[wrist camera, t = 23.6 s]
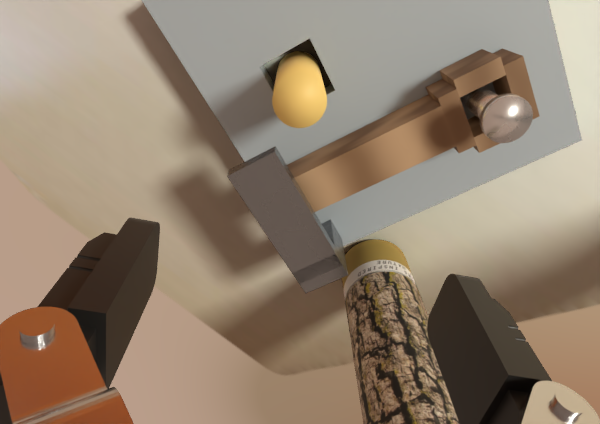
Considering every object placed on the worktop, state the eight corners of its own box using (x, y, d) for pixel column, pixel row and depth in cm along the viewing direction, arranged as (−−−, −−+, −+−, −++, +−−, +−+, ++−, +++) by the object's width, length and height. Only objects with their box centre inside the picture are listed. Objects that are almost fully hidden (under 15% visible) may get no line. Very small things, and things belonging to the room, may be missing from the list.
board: (566, 130, 40) (581, 140, 37) (307, 247, 45) (308, 261, 43) (477, -214, 29) (493, -229, 26) (151, -2, 34) (141, -1, 32)
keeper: (339, 225, 44) (348, 275, 37) (304, 241, 45) (305, 293, 38) (278, 118, 39) (274, 151, 32) (239, 139, 40) (227, 176, 32)
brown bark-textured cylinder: (331, 246, 45) (366, 507, 23) (397, 228, 44) (498, 481, 22) (349, 296, 48) (395, 568, 26) (411, 280, 47) (511, 548, 25)
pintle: (485, 96, 38) (538, 129, 30) (450, 113, 39) (491, 151, 30) (474, 61, 37) (525, 87, 28) (437, 80, 37) (477, 110, 29)
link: (499, 39, 33) (520, 46, 30) (521, 111, 36) (541, 124, 33) (263, 159, 38) (260, 176, 35) (297, 216, 40) (297, 236, 37)
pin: (327, 82, 37) (336, 112, 29) (290, 102, 38) (288, 137, 30) (307, 42, 36) (311, 62, 28) (269, 64, 37) (262, 90, 29)
